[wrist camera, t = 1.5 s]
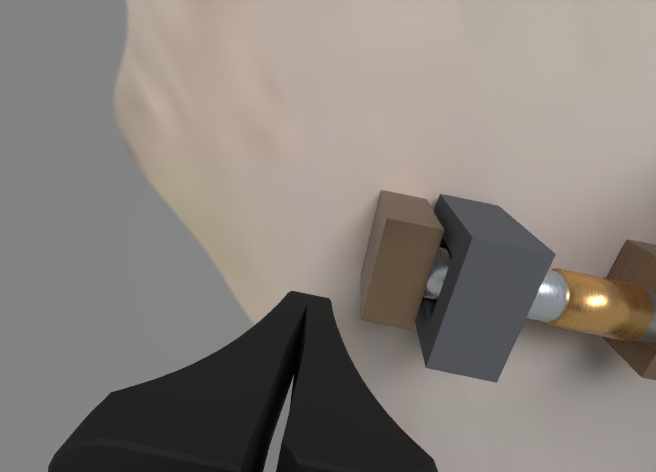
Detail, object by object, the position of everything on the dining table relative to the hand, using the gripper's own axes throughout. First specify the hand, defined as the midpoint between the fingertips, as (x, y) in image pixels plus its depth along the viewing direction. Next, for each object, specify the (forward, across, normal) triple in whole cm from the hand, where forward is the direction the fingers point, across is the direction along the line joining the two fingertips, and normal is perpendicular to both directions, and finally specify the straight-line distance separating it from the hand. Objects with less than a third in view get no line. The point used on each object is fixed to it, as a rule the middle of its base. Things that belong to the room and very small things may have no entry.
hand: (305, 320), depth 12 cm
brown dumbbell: (+9, -10, 0) cm, 14 cm away
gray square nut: (+9, -7, 0) cm, 11 cm away
